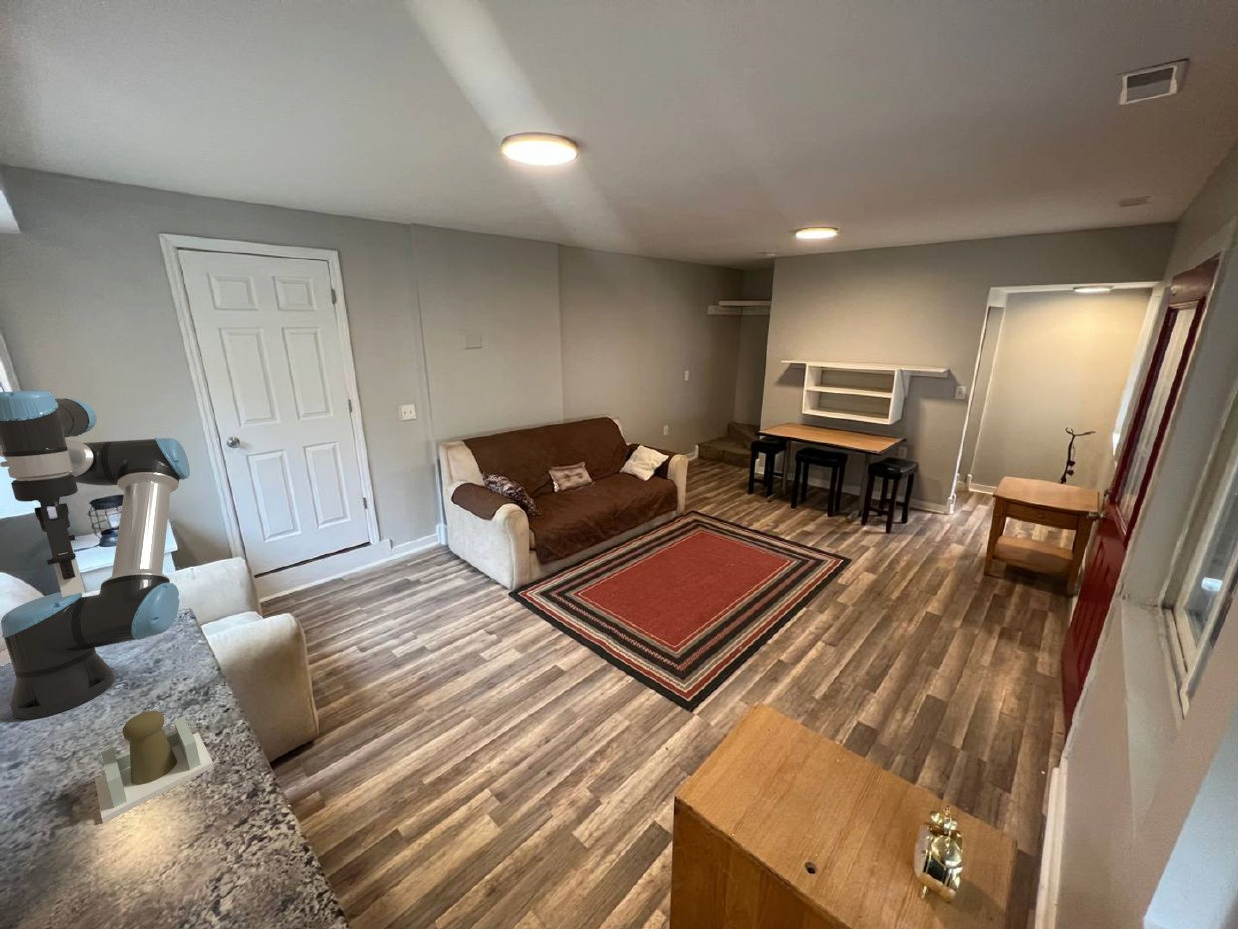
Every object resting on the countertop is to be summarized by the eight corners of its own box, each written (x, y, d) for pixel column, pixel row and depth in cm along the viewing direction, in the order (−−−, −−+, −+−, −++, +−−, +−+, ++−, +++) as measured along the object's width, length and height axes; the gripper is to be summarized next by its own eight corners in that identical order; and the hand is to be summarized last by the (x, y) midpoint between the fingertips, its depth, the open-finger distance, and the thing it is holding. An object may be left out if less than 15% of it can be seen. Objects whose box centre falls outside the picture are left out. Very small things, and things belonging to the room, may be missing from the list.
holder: (96, 783, 84) (88, 754, 83) (199, 736, 95) (193, 710, 93) (103, 823, 77) (94, 792, 75) (213, 767, 87) (207, 738, 86)
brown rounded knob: (147, 787, 82) (134, 732, 80) (121, 781, 83) (107, 726, 81) (185, 760, 88) (174, 707, 86) (160, 754, 89) (148, 703, 87)
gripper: (11, 471, 92) (39, 573, 96) (8, 490, 76) (42, 611, 81) (69, 464, 98) (94, 561, 102) (78, 481, 82) (106, 595, 86)
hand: (71, 584), depth 91 cm, fingers open, 13 cm apart
